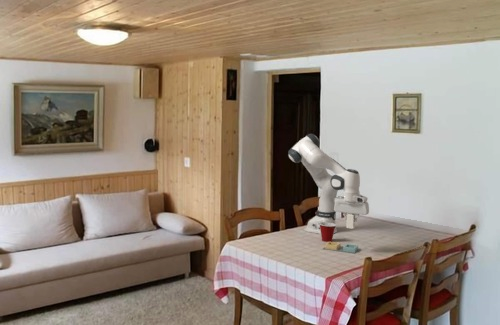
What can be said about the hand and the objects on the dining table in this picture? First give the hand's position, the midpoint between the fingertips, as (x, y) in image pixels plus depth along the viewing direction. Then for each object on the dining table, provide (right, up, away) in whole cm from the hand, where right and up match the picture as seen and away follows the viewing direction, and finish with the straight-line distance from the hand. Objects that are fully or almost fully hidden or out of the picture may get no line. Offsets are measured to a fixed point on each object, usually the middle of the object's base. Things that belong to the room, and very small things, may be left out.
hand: (350, 220), depth 302 cm
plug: (0, -4, 0) cm, 4 cm away
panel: (-5, -18, +5) cm, 19 cm away
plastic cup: (-10, -16, +24) cm, 30 cm away
